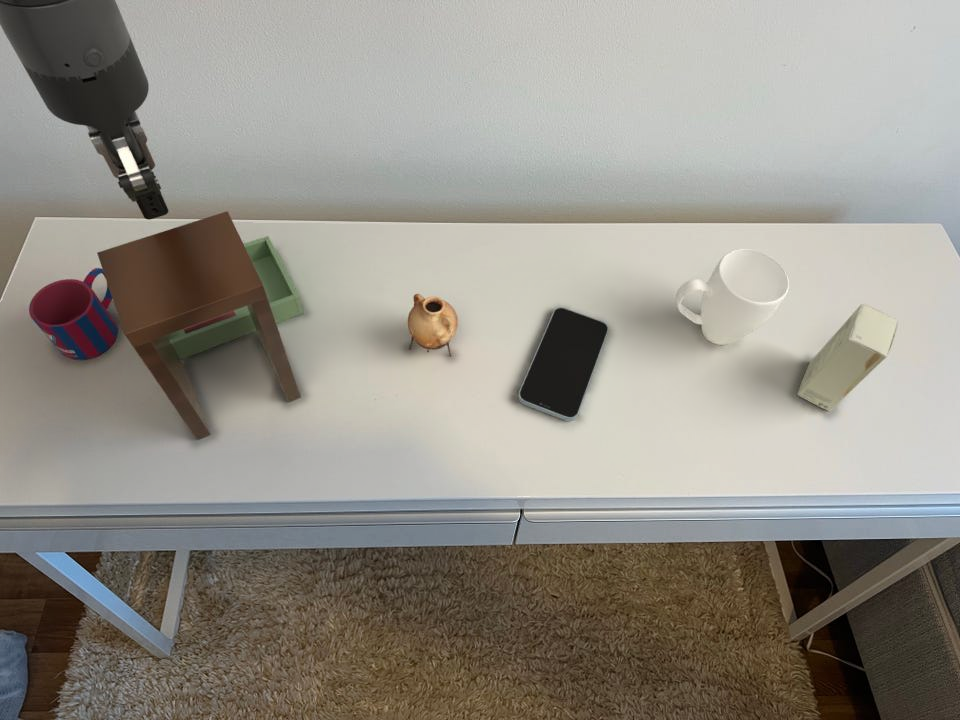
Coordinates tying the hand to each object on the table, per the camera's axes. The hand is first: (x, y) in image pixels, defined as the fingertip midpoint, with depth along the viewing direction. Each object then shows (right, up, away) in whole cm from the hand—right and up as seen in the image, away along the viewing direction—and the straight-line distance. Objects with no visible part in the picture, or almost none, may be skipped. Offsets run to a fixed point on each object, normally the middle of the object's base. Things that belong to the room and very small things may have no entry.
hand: (155, 212), depth 63 cm
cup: (-16, -10, +18) cm, 26 cm away
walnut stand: (+2, -17, +15) cm, 23 cm away
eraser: (-2, -9, +18) cm, 20 cm away
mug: (+59, -10, +24) cm, 65 cm away
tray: (-1, -7, +21) cm, 22 cm away
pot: (+24, -12, +20) cm, 34 cm away
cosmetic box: (+72, -17, +20) cm, 77 cm away
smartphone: (+41, -14, +20) cm, 47 cm away
